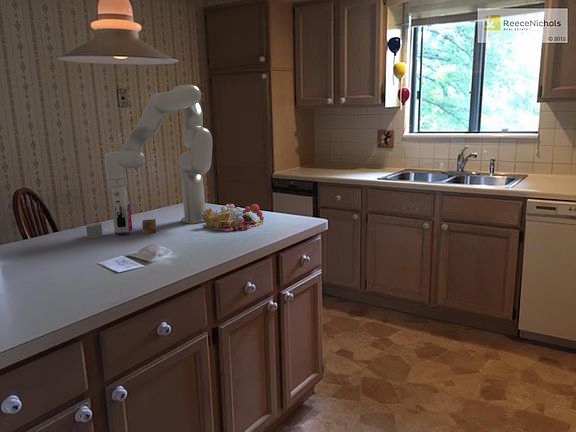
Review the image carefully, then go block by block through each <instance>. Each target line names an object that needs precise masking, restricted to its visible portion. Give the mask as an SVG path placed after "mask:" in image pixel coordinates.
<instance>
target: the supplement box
mask: <svg viewBox="0 0 576 432" xmlns="http://www.w3.org/2000/svg"><path fill="white" fill-rule="evenodd" d="M127 207H128V209H127V210H123V211H124V217H125V222H126V227H118V225H117V216H116V211H115V210H114V207H113V206H112V207H111V210H112V219H113V227H114V229H113V230H114V234H115V235H119V234H129V233H130V232H131V231H133V222H132V214H131V213H132V211H131V204H130V203H129V204H128V206H127ZM115 209H116V208H115ZM120 210H122V209H120ZM121 213H122V212H121Z"/></svg>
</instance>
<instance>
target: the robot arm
mask: <svg viewBox="0 0 576 432" xmlns="http://www.w3.org/2000/svg"><path fill="white" fill-rule="evenodd" d="M201 96H202V92H201V90H200V89H199V87H198V86H196V85H194V84H180V85H176V86H175V87H174V88H172V90H169V91H165V92H163V91H162V92H156V93H153V94H152V95H151V96H150V98H149V99H148V101H147V103H146V105H145V108H144V110H143V112H142V114H141V117H140V119H139V121H138V122H137V124H136V126H135V127H134V128H133V129H132V130H131V132H130V133H129V134H128V136H127V138H126V139H125V141H124V143H123V145H122V147H121V149H120V151H109V152H106V153H105V154H104V166H105V174H106V179H107V186H108V188H110V189H111V199H112V205H113V206H112V207H114V210H115V211H116V216H117V225H118V227H126V222H125V217H124V211H123V210H127V209H128V207H127V206H128V204H130V202H129V198H128V197H129V196H128V192H127V190H128V189H127V186H128V178H127V169H129V170H130V169H132V170H133V169H135V170H136V169H139V168H142V167H143V166H144V165H145V163H146V156H145V155H144V153H143V152H142V151H141V150H142V149H143V146H144V145H145V144H146V143H147V141H149V140H150V139H151V138H153V137H155V136H156V135H157V133H158V132H159V130H160V128H161V125H162V123H163V122H164V119H165V118H166V116H167V114H172V113H175V112H179V111H181V113H182V135H181V136H182V139H181V140H182V143H183V145H184V146H185V147H187V148H189V149H191V150H187V151H185V152H183V153H182V154H180V156H179V157H178V162H177V163H178V169H179V175H180V180H181V189H182V191H181V192H182V201H183V214H184V217H182V218H181V221H180V222H181V223H183V224H189V225H190V224H192V225H193V224H202V223H205V222H204V220H203V217H202V214H201V213H202V212H205V213H206V209H207V208H206V204H205V203H206V201H205V189H204V179H203V175H205V174H206V173H208V172H209V170H210V169H211V165H212V157H213V136H212V133H211V132H210V130H209V129H208V128H205V127H204V126H203V123H204V121H203V120H204V119H203V109H202V107H201V105H200V103H199V102H200V101H201V98H202V97H201ZM115 208H116V209H115ZM120 209H122V210H120ZM121 212H122V213H121ZM214 212H215V211H213V216H214Z"/></svg>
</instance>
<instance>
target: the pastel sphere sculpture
mask: <svg viewBox="0 0 576 432" xmlns="http://www.w3.org/2000/svg"><path fill="white" fill-rule="evenodd" d="M205 209H206V213H205V212H202V213H201V214H202V217H203V220H204V222H203V223H205V224H204V225H203V228H208V229H209V228H210V229H212V231H213V230H214V231H224V232H231V231H234V232H237V231H239V230H242V231H246V230H248V229H251V228H254V227H255V228H256V227H259V226H262V225H264V219H265V217H264V216H263V215H264V214H263V212H262V211H261V210H260V206H259V205H258V204H257V203H254V204H251V206H246V207H244V209H243V210H242V208H241V207H239V206H237V207H236V206H235V204H233V203H230V204H225V205H223V206H222V207H220V211H219V212H218V210H216V211H214V209H212V208H205ZM213 212H214V216H213ZM250 212H251V213H250ZM253 214H256V216H257V217H258V218H259V219H257V218H256V217H254V215H253Z"/></svg>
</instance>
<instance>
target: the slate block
mask: <svg viewBox="0 0 576 432" xmlns="http://www.w3.org/2000/svg"><path fill="white" fill-rule="evenodd" d="M102 226H103V225H102V223H101V222H99V223H88V224H87V225H86V227H85V229H86V235H87V239H97V238H98V239H99V238H101V237H102V236H103V227H102Z"/></svg>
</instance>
